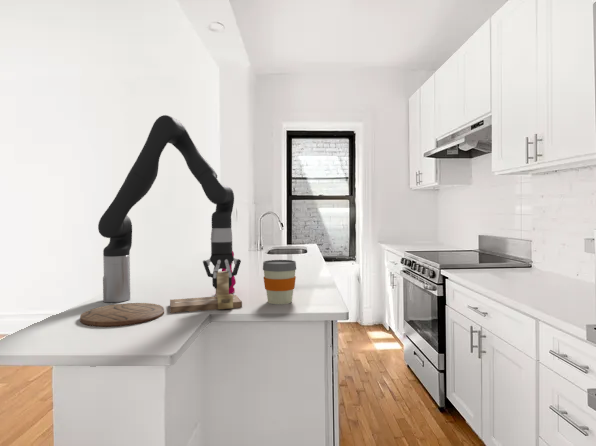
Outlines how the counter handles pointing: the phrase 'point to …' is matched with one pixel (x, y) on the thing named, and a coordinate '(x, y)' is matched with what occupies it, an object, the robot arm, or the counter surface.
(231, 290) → the pepper mill
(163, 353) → the counter surface
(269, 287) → the reusable coffee cup
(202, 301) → the walnut board
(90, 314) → the trivet
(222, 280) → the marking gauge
